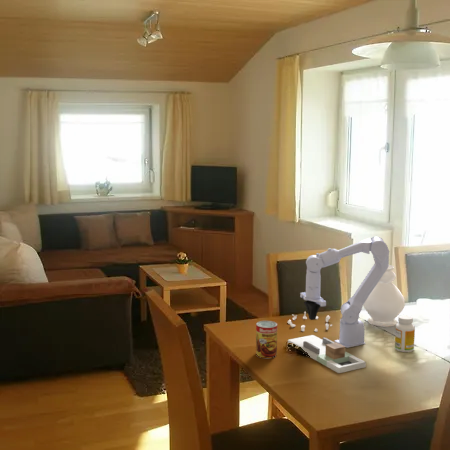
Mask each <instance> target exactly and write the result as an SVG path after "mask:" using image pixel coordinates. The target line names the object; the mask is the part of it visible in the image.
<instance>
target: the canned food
mask: <svg viewBox="0 0 450 450" xmlns="http://www.w3.org/2000/svg"><path fill="white" fill-rule="evenodd" d="M255 325H256V328H255V331H256V332H255V355H256V354H257V355H258V356H261V357H273V358H275V357H277V356H276V355H278V323H277V322H275V321H274V320H273V321H272V320H260V321H257V322H256V324H255ZM257 355H256V356H257ZM258 356H257V357H258ZM274 356H275V357H274ZM261 357H260V358H261Z"/></svg>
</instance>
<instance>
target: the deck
mask: <svg viewBox="0 0 450 450" xmlns="http://www.w3.org/2000/svg"><path fill="white" fill-rule="evenodd" d="M288 343H293V344H295V345H296V346H298V347H301V348H302V349H303V350H304V351H305V352H307V353H308V355H309V356H310V357H309V356H308V357H309V358H311V359H313V360H314V361H316V362H318V363H319V364H322V365H323V366H325V367H326V368H329V370H332V371H334V372H335V373H337V374H342V373H345V372H350V371H355V370H359V369H363V368H366V363H367V362H366V361H365V360H363V359H362V358H359V357H357V356H355V355H353V354H351V353H349V352H347V351H346V350H345V357H343V358H338V359H332V358H330V357H328V356H326V355H325V351H326V344H331V343H336V342H335V341H332V340H331V339H329V338H327V337H326V336H325V337H322V338H320V337H318V336H316V335H314V334H310V335H305V336H301V337H300V336H299V337H295V338H290V339H288V340H287V344H288Z"/></svg>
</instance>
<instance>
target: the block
mask: <svg viewBox="0 0 450 450" xmlns="http://www.w3.org/2000/svg"><path fill="white" fill-rule="evenodd" d="M345 351H346V347H345V346H343V345H341V344H339V343H337V342H335V343H331V344H326V351H325V355H326V356H328V357H330V358H332V359H338V358H343V357H345Z"/></svg>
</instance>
